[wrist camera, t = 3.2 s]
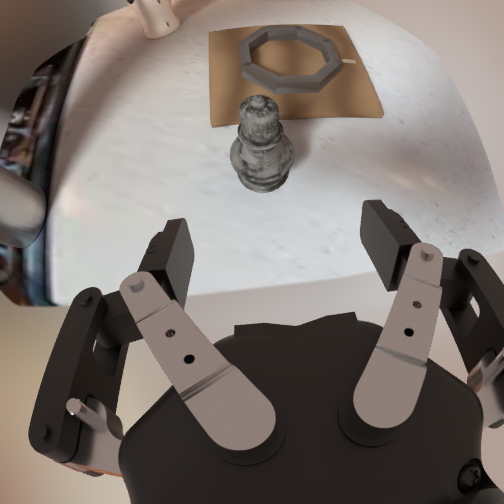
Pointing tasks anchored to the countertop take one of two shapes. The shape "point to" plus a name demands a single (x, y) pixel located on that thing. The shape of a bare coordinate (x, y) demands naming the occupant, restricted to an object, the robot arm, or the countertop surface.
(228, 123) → the socket plate
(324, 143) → the countertop surface
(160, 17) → the beer glass
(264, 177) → the grey turned stone piece
